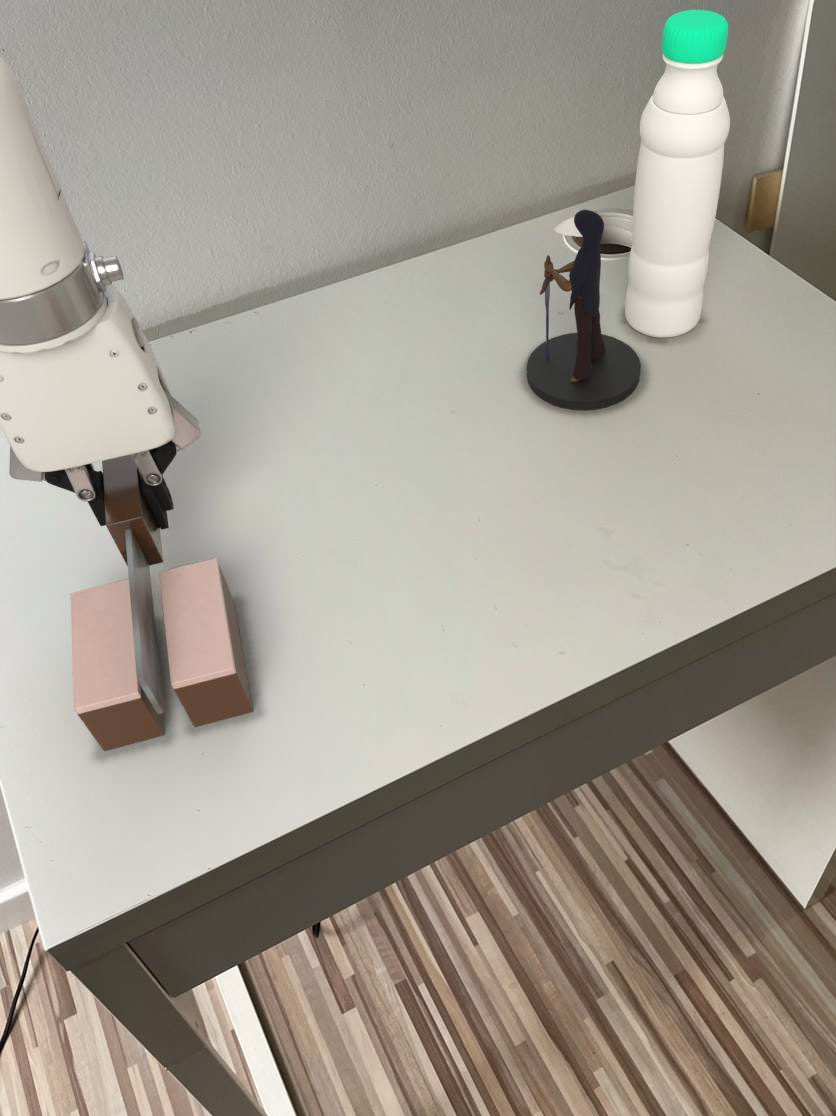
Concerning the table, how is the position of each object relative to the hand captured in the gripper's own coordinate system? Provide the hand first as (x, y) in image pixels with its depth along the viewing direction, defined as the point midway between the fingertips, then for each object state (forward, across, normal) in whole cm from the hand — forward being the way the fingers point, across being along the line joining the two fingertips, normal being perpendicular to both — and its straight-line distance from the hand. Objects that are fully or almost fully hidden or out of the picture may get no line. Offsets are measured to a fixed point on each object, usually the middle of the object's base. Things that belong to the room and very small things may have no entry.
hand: (140, 519), depth 68 cm
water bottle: (+5, -48, -16) cm, 51 cm away
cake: (+5, 0, +11) cm, 12 cm away
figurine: (+5, -38, -11) cm, 40 cm away
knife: (0, 0, +7) cm, 7 cm away
